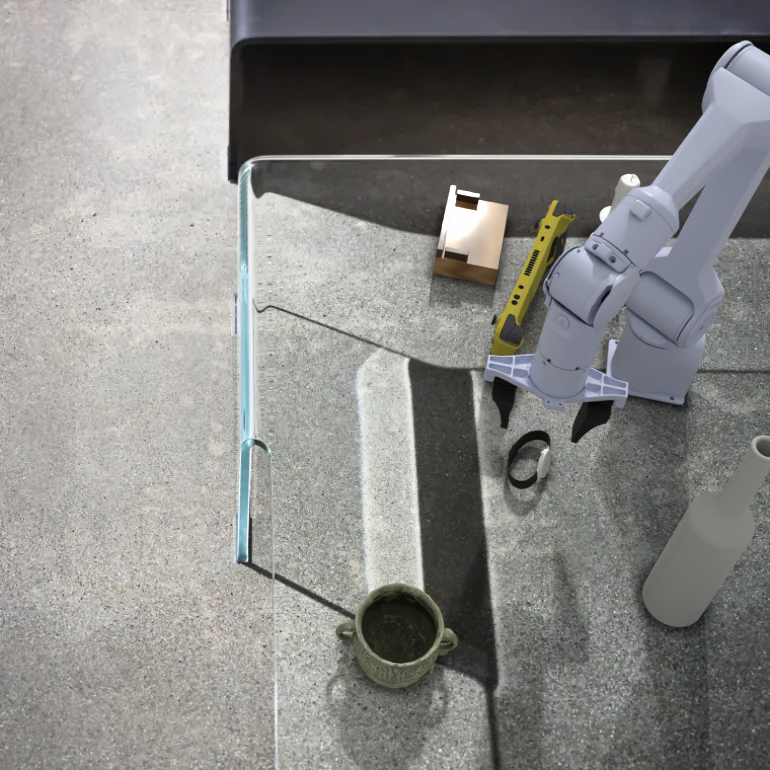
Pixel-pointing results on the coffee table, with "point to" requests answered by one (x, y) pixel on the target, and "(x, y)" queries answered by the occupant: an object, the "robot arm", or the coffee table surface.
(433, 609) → the vessel
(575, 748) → the coffee table surface
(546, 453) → the watch
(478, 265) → the shelf
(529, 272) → the yellow power tool
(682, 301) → the robot arm
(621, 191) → the candle
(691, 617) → the bottle
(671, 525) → the coffee table surface
